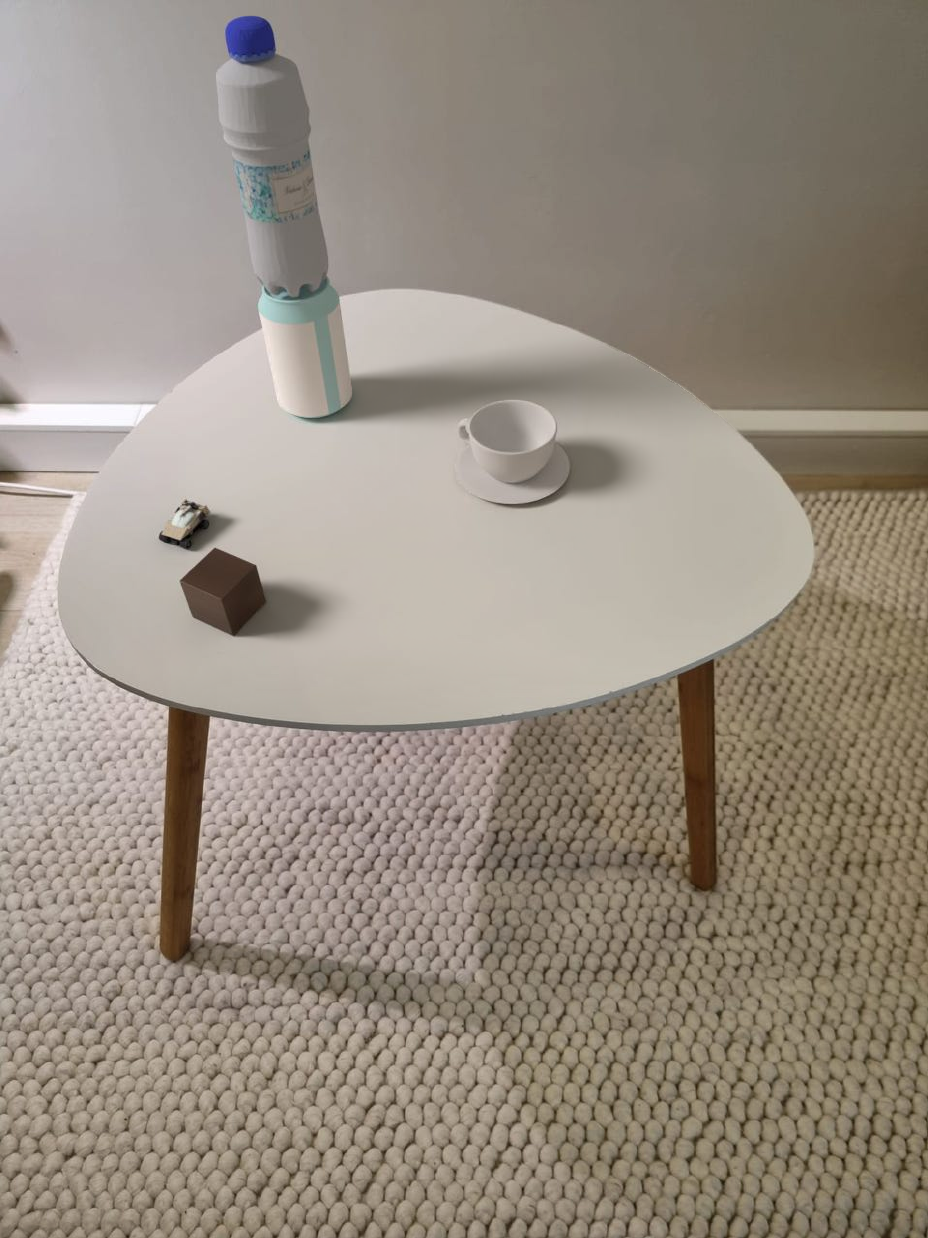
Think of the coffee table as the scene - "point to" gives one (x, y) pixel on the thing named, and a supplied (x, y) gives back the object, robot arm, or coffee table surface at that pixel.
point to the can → (307, 350)
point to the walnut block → (223, 591)
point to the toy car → (185, 524)
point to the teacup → (511, 453)
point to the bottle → (271, 158)
